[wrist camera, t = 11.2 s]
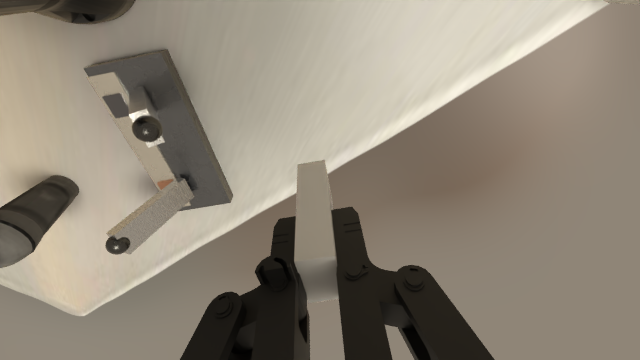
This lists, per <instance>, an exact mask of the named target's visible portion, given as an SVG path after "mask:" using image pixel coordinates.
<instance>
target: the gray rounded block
mask: <svg viewBox="0 0 640 360" xmlns="http://www.w3.org/2000/svg"><path fill="white" fill-rule="evenodd" d="M604 1H606V2H608V3H620V4H633V5H640V0H604Z"/></svg>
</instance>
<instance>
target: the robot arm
mask: <svg viewBox="0 0 640 360" xmlns="http://www.w3.org/2000/svg"><path fill="white" fill-rule="evenodd" d="M134 1H135V0H0V16H2V15H10V14H18V13H26V12H35V13H38V14H41V15H45V16H48V17H51V18H55V19H58V20H61V21H65V22H69V23H76V24H96V23H101V22H106V21H110V20H113V19H116V18H118V17H119V16H121V15H123V14H124V13H125V12H126V11H127V10H128V9H129V8H130V7H131V6H132V5H133V3H134ZM272 240H273V241H272V248H271V256H269V257H267V258H265V259H264V260H262V261H261V262H260V264H259V265H258V266H257V268H256V270H255V273H256V275H257V277H258V280H259V281H260V284H261V285H260V286H258V287H257V288H255V289H254V290H252V291H250V292H247V293H245V294H243V295H241V296H239V295H238V294H237V293H234V292H225V293H223V294H221V295H218V296H217V297H216V298H215V299H214V300H213V301H212V302H211V303H210V304H209V306H208V307H207V309H206V311H205V313H204V315H203V317H202V319H201V321H200V323H199V325H198V327H197V328H196V330H195V332H194V334H193V336H192V338H191V340H190V342H189V344H188V345H187V347H186V349H185V351H184V353H183V355H182V357H181V359H180V360H310V334H309V333H310V331H309V314H308V310H307V300H308V302H309V303H314V302H321V301H328V300H336V299H339V305H340V315H341V324H342V334H343V344H344V353H345V360H392V355H391V351H390V347H389V342H388V338H387V334H386V329H385V325H390V326H395V327H398V329H399V331H400V333H401V335H402V336H403V339H404V340H405V342H406V344H407V346H408V348H409V350H410V352H411V354H412V356H413V357H414V359H415V360H494V358H493V357H492V356H491V354H490V353H489V352H488V350H487V349H486V348H485V346H484V345H483V344H482V342H481V341H480V340H479V338H478V337H477V336H476V334H475V333H474V332H473V330H472V329H471V327H470V326H469V325H468V324H467V322H466V321H465V319H464V318H463V317H462V315H461V314H460V313H459V311H458V310H457V309H456V307H455V306H454V305H453V303H452V302H451V301H450V299H449V298H448V297H447V295H446V294H445V293H444V291H443V290H442V289H441V287H440V286H439V285H438V283H437V282H436V281H435V279H434V278H433V277H432V276H431V274H430V273H429V272H428V271H427V270H426V269H423V268H422V267H419V266H414V265H408V266H404V267H402V268H400V269H399V270H398V271H397V272H394V271H388V270H383V269H380V268H378V267H376V266H375V265H373V264H372V263H371V261H370V260H369V258H368V255H367V251H366V247H365V242H364V238H363V233H362V229H361V225H360V221H359V216H358V213H357V212H356V211H355V210H354V209H353V207H347V208H341V209H334V210H333V204H332V196H331V191H330V186H329V180H328V175H327V170H326V165H325V160H322V161H316V162H310V163H304V164H298V173H297V200H296V216H294V217H289V218H282V219H279V220H278V222H277V223H276V225H275V227H274V231H273V239H272ZM384 324H385V325H384Z"/></svg>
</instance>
